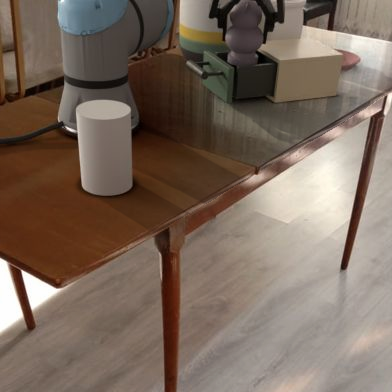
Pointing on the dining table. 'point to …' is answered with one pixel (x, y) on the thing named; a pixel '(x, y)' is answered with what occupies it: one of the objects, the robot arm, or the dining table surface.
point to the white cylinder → (105, 146)
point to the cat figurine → (244, 33)
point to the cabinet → (303, 68)
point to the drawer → (236, 76)
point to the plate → (348, 60)
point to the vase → (200, 30)
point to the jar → (287, 21)
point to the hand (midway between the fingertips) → (244, 36)
